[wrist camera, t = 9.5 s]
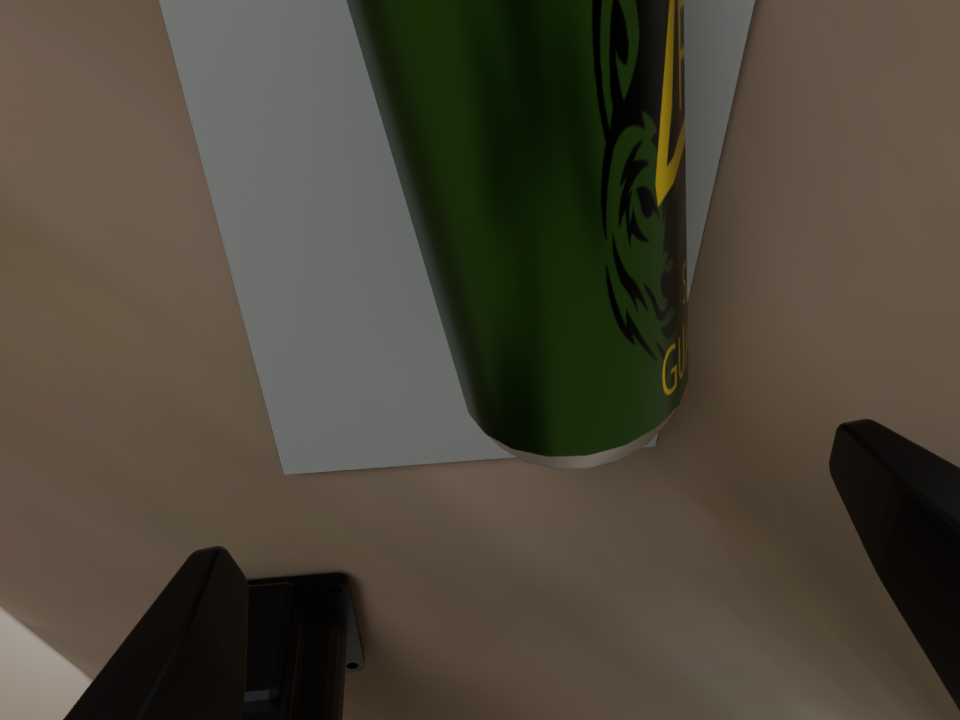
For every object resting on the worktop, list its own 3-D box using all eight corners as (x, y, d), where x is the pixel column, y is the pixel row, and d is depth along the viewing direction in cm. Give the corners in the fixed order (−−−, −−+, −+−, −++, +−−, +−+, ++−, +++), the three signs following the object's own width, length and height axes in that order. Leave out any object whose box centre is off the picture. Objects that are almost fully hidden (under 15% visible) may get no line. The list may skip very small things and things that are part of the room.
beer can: (469, 495, 15) (245, -187, 7) (470, 348, 19) (326, -184, 12) (716, 460, 14) (737, -324, 7) (660, 316, 18) (636, -269, 11)
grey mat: (650, 436, 22) (655, 446, 22) (286, 463, 21) (284, 474, 21) (782, -177, 13) (794, -177, 12) (121, -176, 12) (112, -178, 11)
